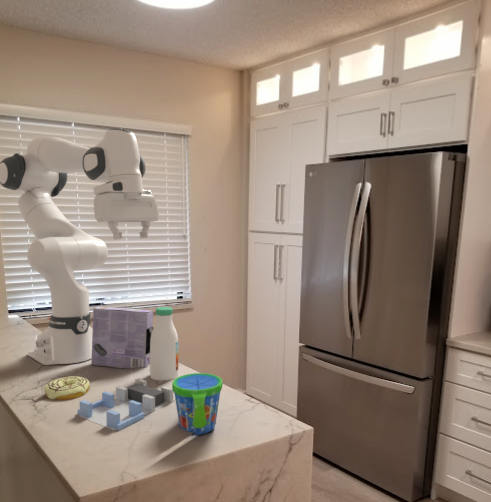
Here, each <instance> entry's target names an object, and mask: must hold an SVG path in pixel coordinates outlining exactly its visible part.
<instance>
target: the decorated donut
mask: <svg viewBox="0 0 491 502" xmlns="http://www.w3.org/2000/svg"><path fill="white" fill-rule="evenodd" d="M89 390H90V380H88V379H87V378H86V377H83V376H79V375H78V376H76V375H71V376H70V375H69V376H65V377H58V378H56V379H53V380H51V381H49V382H48V383H46V384H45V385H44V387H43V391H44V395H45V396H46V398H47V399H49V400H52V401H53V400H56V401H57V400H58V401H60V400H61V401H62V400H72V399H76V398H80V397H83V396H84V395H86V394H87V393H88V392H89Z"/></svg>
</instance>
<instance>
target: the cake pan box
mask: <svg viewBox="0 0 491 502" xmlns="http://www.w3.org/2000/svg"><path fill="white" fill-rule="evenodd" d="M92 329H93V331H92V358H91V366H98V367H107V368H108V367H110V368H115V369H128V370H129V369H130V370H132V369H134V368H147V367H148V366H149V367H150V339H151V334H152V331H153V329H154V310H149V309H147V310H146V309H138V308H137V309H134V308H127V307H114V306H113V307H111V306H96V307H93V309H92Z"/></svg>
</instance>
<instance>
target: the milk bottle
mask: <svg viewBox="0 0 491 502" xmlns="http://www.w3.org/2000/svg"><path fill="white" fill-rule="evenodd" d="M173 311H174V309H173V308H172V307H170V306H160V307H157V308H155V317H156V321H155V325H154V326H153V328H154V329H153V331H152V334H151V339H150V365H149V368H150V369H149V374H150V375H149V377H150V379H152V380H154V381H159V382H160V381H162V382H163V381H170V380H175V379H176V378H178V377H179V335H178V332H177V330H176V327H175V325H174V322H173V313H174V312H173Z"/></svg>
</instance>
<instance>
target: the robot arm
mask: <svg viewBox="0 0 491 502" xmlns="http://www.w3.org/2000/svg"><path fill="white" fill-rule="evenodd" d="M137 139H138V138H137V137H136V135H135V133H134V132H133V131H131V130H128V129H124V128H123V129H122V128H109V129H107V130H106V131H105V132H104V135H103V137H102V140H100V142H99V143H98V144H96V145H95V146H93V147H90V148H89V147H87V146H85V145H81V144H78V143H77V142H73V141H70V140H68V139H65V138H62V137H59V136H50V135H49V136H39V137H36V138H34V139H32V140H31V141H29V143H28V146H27V149H26V153H25V154H23V155H21V154H20V153H18V152H16V153H14V154H13V155H12V156H8V157H5V158H3V159H2V160H1V161H0V185H1V186H2V187H3V188H4V189H8V190H11V191H23V192H24V193H22V194H21V195H20V196H19V199H18V202H17V203H18V208H19V212H20V214H21V216H22V219H24V222H25V223H26V224H27V226H28V228H29V229H30V230H31V232H32V234H33V235H34V236H35V238H36V239H35V240H33V241H32V242H31V243H30V244H29V246H28V248H27V253H26V256H27V262H28V264H29V265H30V267H31V269H33V270H34V271H35V272H37V273H38V274H39V275H41V276H42V277H43V279H44V280H45V282H46V284H47V286H48V288H49V291H50V300H51V315H48V316H47V317H48V318H47V320H48V324H47V326H48V327H46V328H45V329H44V330H43V331H42V332H41V333H40V334H38V335H37V337H36V339H35V340H36V341H35V349H32V350H29V352H28V353H27V356H28V357H30V358H32V359H33V360H35V361H37V362H38V363H40V364H41V365H44V366H51V365H52V366H53V365H66V364H67V365H69V364H77V363H81V362H85V361H89V360H92V331H93V326H90V325H91V323H92V316H91V312H90V291H89V289H88V287H87V286H86V285H84V284H83V283H81V282H79V281H77V279H76V278H75V274H74V272H75V271H85V270H92V269H95V268H98V267H101V266H103V265H104V264H105V263H106V261H107V259H108V256H109V251H108V250H109V249H108V247H107V244H106V242H104V240H103V239H101V238H98V237H96V236H93V235H91V234H88V233H87V232H85V231H84V230H82V229H80V228H79V227H77V226H76V225H74V224H73V223H72V222H70V221H69V220H68V219H67V217H66V216H65V215H64V214H63V213H62V211H61V210H60V209H59V207H58V206H57V204H56V203H55V202H54V201H53V199H52V198H54V197H57V196H58V195H59V194H60V192H62V190H63V189H64V188H65V186H66V184H67V182H68V173H69V174H70V173H84V174H85V175H86V177H87V179H89V180H91V181H95V182H101V183H102V182H103V184H100V185H96V186H94V187H93V193H94V198H93V211H94V219H95V220H96V222H98V223H107V224H108V228H109V230H110V231H111V233H112V236H113V237H112V239H113V240H114V241H115V240H122V239H123V232H121V231H119V229H118V226H119V223H140V224H141V225H140V226H141V227H142V229H141V231H140V232H138V233H139V238H140V239H146V238H149V233H148V232H149V230H150V226H151V222H152V223H153V222H158V220H159V218H160V213H159V207H158V203H157V200H156V198H155V197H156V196H155V194H154V193H153V192H152V191H151V190H150V189H144V185H143V177H144V175H145V174H146V163H145V161H144V159H143V157H142V155H141V154H140V149H139V144H138V141H137Z"/></svg>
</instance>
